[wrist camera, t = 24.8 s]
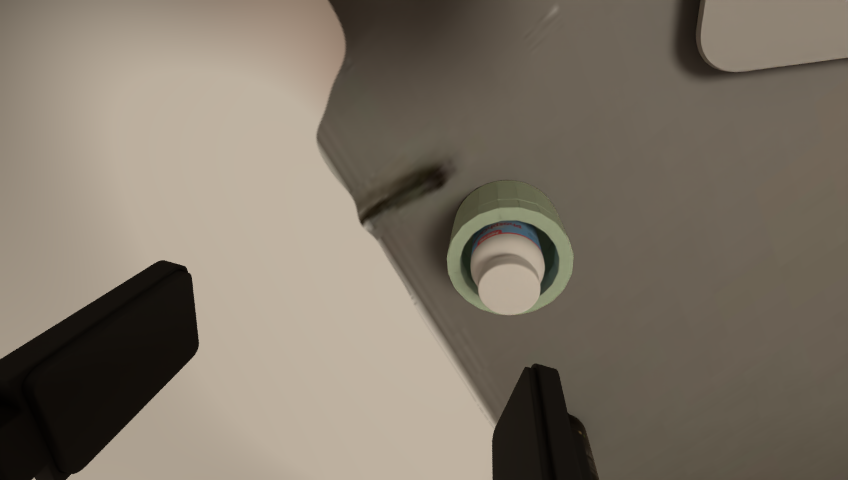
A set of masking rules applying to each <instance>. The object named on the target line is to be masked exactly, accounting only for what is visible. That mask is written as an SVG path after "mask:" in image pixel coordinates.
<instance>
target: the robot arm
mask: <svg viewBox="0 0 848 480" xmlns="http://www.w3.org/2000/svg"><path fill="white" fill-rule="evenodd" d="M198 346H199V340H198V331H197V322H196V312H195V303H194V294H193V284H192V277H191V274H190V273H188V271H187V268H186V267H185V266H182V265H179V264H175V263H172V262H168V261H165V260H162V261H158V262H156V263H154V264H153V265H151V266H150V267H148V268H146V269H145V270H143V271H142V272H140V273H139V274H137V275H135V276H134V277H132V278H130V279H129V280H127V281H126V282H124V283H123V284H121V285H119V286H117V287H116V288H114V289H113V290H111V291H109V292H108V293H106V294H105V295H103V296H101V297H100V298H98V299H97V300H95V301H93V302H92V303H90V304H89V305H87V306H85V307H84V308H82V309H80V310H79V311H77V312H76V313H74V314H72V315H71V316H69V317H68V318H66V319H64V320H63V321H61V322H60V323H58V324H56V325H55V326H53V327H52V328H50V329H48V330H47V331H45V332H44V333H42V334H40V335H39V336H37V337H35V338H34V339H32V340H31V341H29V342H27V343H26V344H24V345H23V346H21V347H19V348H18V349H16V350H15V351H13V352H11V353H10V354H8V355H7V356H5V357H3V358H2V359H0V480H32V479H33V478H34V477H35V479H36V480H66V479H67V478H68V477H69V476H70V475H71V474H75V473H77V472H79V471H81V470H82V469H83V468H84V467H85V466H86V465H87V464H88V463H89V462H90V461H91V460H92V459H93V458H94V457H95V456H96V455H97V454H98V453H99V452H100V451H101V450H102V449H103V448H104V447H105V446H106V445H107V444H108V443H109V442H110V441H111V440H112V439H113V438H114V437H115V436H116V435H117V434H118V433H119V432H120V431H121V430H122V429H123V428H124V427H125V426H126V425H127V424H128V423H129V422H130V421H131V420H132V419H133V418H134V417H135V416H136V415H137V414H138V413H139V411H140V410H141V409H142V408H143V407H144V406H145V405H146V404H147V403H148V402H149V401H150V400H151V399H152V398H153V397H154V396H155V395H156V394H157V393H158V392H159V391H160V390H161V389H162V388H163V387H164V386H165V385H166V384H167V383H168V382H169V381H170V380H171V379H172V378H173V377H174V376H175V375H176V374H177V373H178V372H179V371H180V370H181V369H182V368H183V366H185V365H186V364H187V363H188V361H190V359H191V358H192V357H193V356H194V355H195V353H196V352H197V350H198ZM492 458H493V459H492V462H493V463H492V464H493V466H492V467H493V480H593V478H592V474H591V470H590V466H589V462H588V458H587V454H586V450H585V446H584V442H583V439H582V436H581V434H580V433H579V431H578V430H576V429H573V428H571V426H570V422H569V417H568V413H567V408H566V404H565V399H564V395H563V390H562V386H561V381H560V377H559V373H558V371H557V370H556V369H554V368H550V367H546V366H543V365H539V364H533V365H532V367H531V368H529V367H525V368H524V370H523V372H522V374H521V376H520V378H519V380H518V382H517V384H516V386H515V388H514V390H513V392H512V394H511V397H510V399H509V401H508V403H507V405H506V407H505V409H504V411H503V413H502V415H501V417H500V419H499V421H498V423H497V425H496V427H495V430H494V433H493V440H492Z"/></svg>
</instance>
